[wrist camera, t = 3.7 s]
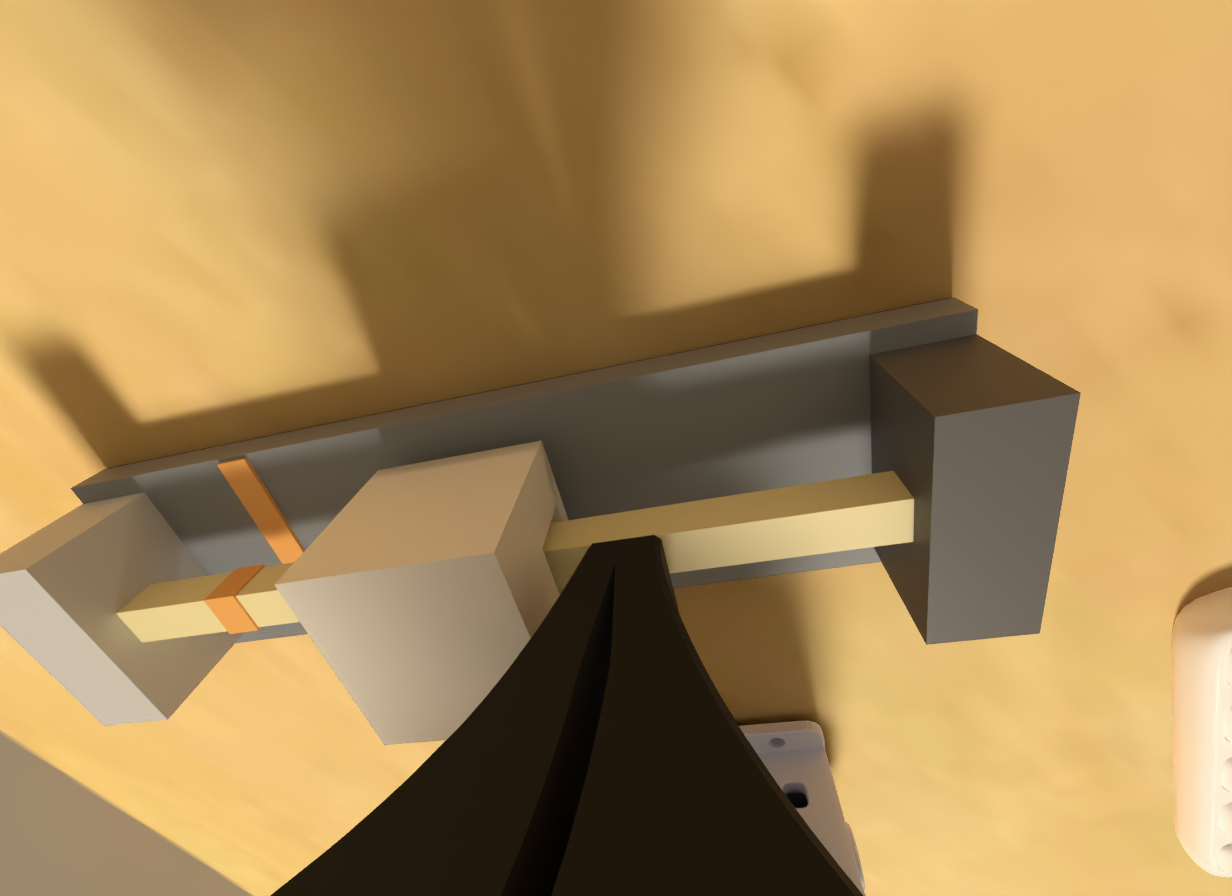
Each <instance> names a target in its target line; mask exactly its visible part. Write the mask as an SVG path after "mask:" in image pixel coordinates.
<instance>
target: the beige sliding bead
mask: <svg viewBox="0 0 1232 896" xmlns="http://www.w3.org/2000/svg"><path fill="white" fill-rule="evenodd" d="M567 520H568V517H567V514H566V511H565V508H564V505H563V502H562V499H561V496H560V494H559V491H558V488H557V485H556V482H555V479H554V476H553V473H552V470H551V467H550V464H549V461H548V458H547V455H546V452H545V449H544V446H543V443H542V440H541V441H536V442H530V443H525V444H519V445H514V446H508V447H503V448H497V449H492V450H486V451H481V452H475V453H470V454H464V455H459V456H453V457H448V458H442V459H437V460H431V461H426V462H420V463H415V464H409V465H404V466H398V467H393V468H387V469H382V470H378V471H377V472H376V473H375V474H374V475H373V476H372V477H371V479H370V480H369V481H368V482H367V483H366V484H365V485H364V486H363V487H362V488H361V490H360V491H359V492H358V493H357V494H356V495H355V496H354V497H353V498H352V499H351V501H350V502H349V503H348V504H347V505H346V506H345V507H344V508H343V509H342V511H341V512H340V513H339V514H338V515H337V516H336V517H335V518H334V519H333V520H332V522H331V523H330V524H329V525H328V526H327V527H326V528H325V529H324V530H323V531H322V533H321V534H320V535H319V536H318V537H317V538H316V539H315V540H314V541H313V542H312V544H311V545H310V546H309V547H308V548H307V549H306V550H305V551H304V552H303V554H302V555H301V556H300V557H299V558H298V559H297V560H296V561H295V562H294V563H293V565H292V566H291V567H290V568H289V569H288V570H287V571H286V572H285V573H284V574H283V576H282V577H281V578H280V579H279V580H278V581H277V582H276V583H275V584H274V585H275V586H276V588H277V589H278V591H279V592H280V594H281V595H282V597H283V598H284V600H285V601H286V603H287V604H288V605H289V607H290V608H291V610H292V611H293V613H294V614H295V616H296V617H297V619H298V620H299V621H300V623H301V624H302V626H303V627H304V629H305V630H306V632H307V633H308V635H309V636H310V637H311V639H312V640H313V642H314V643H315V645H316V646H317V648H318V649H319V651H320V652H321V653H322V655H323V656H324V658H325V659H326V661H327V662H328V664H329V665H330V667H331V668H332V669H333V671H334V672H335V674H336V675H337V677H338V678H339V680H340V681H341V683H342V684H343V685H344V687H345V688H346V690H347V691H348V693H349V694H350V696H351V697H352V699H353V700H354V701H355V703H356V704H357V706H358V707H359V709H360V710H361V712H362V713H363V715H364V716H365V717H366V719H367V720H368V722H369V723H370V725H371V726H372V728H373V729H374V731H375V732H376V734H377V735H378V736H379V738H380V739H381V741H382V742H383V744H384V745H390V744H402V743H415V742H427V741H439V740H447V739H448V738H449V737H450V736H451V735H452V734H453V733H454V732H455V731H456V730H457V729H458V728H459V727H460V726H461V724H462V723H463V722H464V721H465V720H466V719H467V718H468V717H469V716H470V714H471V713H472V712H473V711H474V710H475V709H476V708H477V706H478V705H479V704H480V703H481V702H482V701H483V699H484V698H485V697H486V696H487V695H488V694H489V692H490V691H491V690H492V689H493V687H494V686H495V685H496V684H497V683H498V681H499V680H500V679H501V677H502V676H503V675H504V674H505V672H506V671H507V670H508V669H509V667H510V666H511V665H512V663H513V662H514V660H515V659H516V658H517V656H518V655H519V654H520V652H521V651H522V650H523V648H524V647H525V646H526V644H527V643H528V641H529V640H530V639H531V637H532V636H533V635H534V633H535V632H536V630H537V629H538V627H539V626H540V624H541V623H542V621H543V620H544V618H545V617H546V615H547V614H548V612H549V611H550V609H551V608H552V606H553V605H554V603H555V602H556V600H557V599H558V597H559V596H560V594H561V592H562V591H563V589H564V588H565V587H563V588H557V586H556V583H555V581H554V578H553V575H552V573H551V570H550V567H549V565H548V562H547V559H546V557H545V554H544V551H543V546H544V543H545V539H546V536H547V533H548V529H549V526H550V523H554V522H561V521H567Z"/></svg>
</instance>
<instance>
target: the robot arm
mask: <svg viewBox="0 0 1232 896" xmlns="http://www.w3.org/2000/svg"><path fill="white" fill-rule="evenodd" d="M864 890H865V885H864V878H863V873H862V868H861V863H860V859H859V855H858V851H857V847H856V843H855V840H854V836H853V833H852V830H851V828H850V825H849V824H848V823H847V822H845V820H844V816H843V813H842V809H841V805H840V802H839V798H838V794H837V791H836V787H835V784H834V780H833V776H832V773H831V769H830V765H829V762H828V758H827V755H826V751H825V742H824V736H823V732H822V729H821V727H820V725H818V724H817V723H816V722H813V721H805V720H804V721H792V722H779V723H766V724H754V725H741V726H738V724H737V723H736V721H735V719H734V718H733V716H732V714H731V713H730V711H729V709H728V708H727V706H726V705H725V703H724V701H723V700H722V698H721V696H720V694H719V693H718V691H717V689H716V687H715V686H714V684H713V682H712V680H711V679H710V677H709V675H708V673H707V671H706V669H705V667H704V666H703V664H702V662H701V660H700V658H699V656H698V654H697V652H696V650H695V648H694V646H693V644H692V641H691V639H690V637H689V635H688V633H687V631H686V629H685V626H684V624H683V622H682V620H681V617H680V615H679V612H678V607H677V602H676V598H675V594H674V590H673V586H672V582H671V577H670V573H669V569H668V565H667V561H666V557H665V552H664V548H663V544H662V540H661V539H660V538H659V537H657V536H656V535H649V536H642V537H635V538H628V539H621V540H614V541H607V542H599V543H592V544H591V546H590V547H589V548H588V550H587V551H586V553H585V555H584V556H583V558H582V560H581V561H580V563H579V565H578V566H577V568H576V570H575V571H574V573H573V575H572V576H571V578H570V580H569V581H568V583H567V584H566V586H565V588H564V589H563V591H562V592H561V594H560V596H559V597H558V599H557V600H556V602H555V603H554V605H553V606H552V608H551V609H550V611H549V612H548V614H547V615H546V617H545V618H544V620H543V621H542V623H541V624H540V626H539V627H538V629H537V630H536V632H535V633H534V635H533V636H532V637H531V639H530V640H529V641H528V643H527V644H526V646H525V647H524V648H523V650H522V651H521V652H520V654H519V655H518V656H517V658H516V659H515V660H514V662H513V663H512V665H511V666H510V667H509V669H508V670H507V671H506V672H505V674H504V675H503V676H502V677H501V679H500V680H499V681H498V683H497V684H496V685H495V686H494V687H493V689H492V690H491V691H490V692H489V694H488V695H487V696H486V697H485V698H484V699H483V701H482V702H481V703H480V704H479V705H478V706H477V708H476V709H475V710H474V711H473V712H472V713H471V714H470V716H469V717H468V718H467V719H466V720H465V721H464V722H463V723H462V724H461V726H460V727H459V728H458V729H457V730H456V731H455V732H454V733H453V734H452V735H451V736H450V737H449V738H448V739H447V740H446V741H445V742H444V743H443V744H442V745H441V746H440V747H439V748H438V749H437V750H436V751H435V752H434V753H433V754H432V755H431V756H430V757H429V758H428V759H427V760H426V761H425V762H424V763H423V764H422V765H421V766H420V767H419V768H418V769H417V770H416V771H415V772H414V773H413V774H412V775H411V776H410V777H409V778H408V779H407V780H406V781H405V782H404V783H403V784H402V785H401V786H400V787H399V788H398V789H396V790H395V791H394V792H393V793H392V794H391V795H390V796H389V797H388V798H387V799H386V800H385V801H383V802H382V803H381V804H380V805H379V806H378V807H377V808H376V809H375V810H373V811H372V812H371V813H370V814H369V815H368V816H367V817H365V818H364V819H363V820H362V821H361V822H360V823H359V824H357V825H356V826H355V827H354V828H353V829H352V830H351V831H349V832H348V833H347V834H346V835H345V836H344V837H342V838H341V839H340V840H339V841H338V842H337V843H335V844H334V845H333V846H332V847H331V848H329V849H328V850H327V851H326V852H325V853H323V854H322V855H321V856H320V857H318V858H317V859H316V860H314V861H313V862H312V863H311V864H309V865H308V866H307V867H306V868H304V869H303V870H302V871H301V872H299V873H298V874H297V875H296V876H294V877H293V878H292V879H291V880H289V881H288V882H287V883H286V884H284V885H283V886H282V887H281V888H279V889H278V890H277V891H276V892H274V893H273V894H272V895H271V896H865V892H864Z"/></svg>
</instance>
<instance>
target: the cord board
mask: <svg viewBox="0 0 1232 896" xmlns="http://www.w3.org/2000/svg"><path fill="white" fill-rule="evenodd" d="M977 317H978V309H976V308H974V307H972V306H970V305H968V304H966V303H964V302H962V301H960V300H958V299H956V298H948V299H943V300H938V301H933V302H928V303H923V304H918V305H913V306H909V307H904V308H899V309H894V310H889V311H884V312H879V313H874V314H869V315H864V316H859V317H854V318H849V319H844V320H839V321H834V322H829V323H825V324H820V325H815V326H810V327H805V328H800V329H795V330H790V331H785V332H780V333H775V334H770V335H765V336H760V337H755V338H750V339H745V340H741V341H736V342H731V343H726V344H721V345H716V346H711V347H706V348H701V349H696V350H691V351H686V352H681V353H676V354H671V355H666V356H661V357H657V358H652V359H647V360H642V361H637V362H632V363H627V364H622V365H617V366H612V367H607V368H602V369H597V370H592V371H587V372H582V373H577V374H573V375H568V376H563V377H558V378H553V379H548V380H543V381H538V382H533V383H528V384H523V385H518V386H513V387H508V388H503V389H498V390H493V391H489V392H484V393H479V394H474V395H469V396H464V397H459V398H454V399H449V400H444V401H439V402H434V403H429V404H424V405H419V406H414V407H409V408H405V409H400V410H395V411H390V412H385V413H380V414H375V415H370V416H365V417H360V418H355V419H350V420H345V421H340V422H335V423H330V424H325V425H321V426H316V427H311V428H306V429H301V430H296V431H291V432H286V433H281V434H276V435H271V436H266V437H261V438H256V439H251V440H246V441H241V442H237V443H232V444H227V445H222V446H217V447H212V448H207V449H202V450H197V451H192V452H187V453H182V454H177V455H172V456H167V457H162V458H157V459H153V460H148V461H143V462H138V463H133V464H128V465H123V466H118V467H113V468H108V469H104V470H103V471H101V472H99V473H97V474H95V475H94V476H92V477H90V478H88V479H87V480H85V481H83V482H81V483H79V484H78V485H76V486H74V487H72V488H71V489H72V491H73V492H74V493H75V494H76V495H77V497H78V498H79V499H80V500H81V501H82V503H83V504H82V505H81V506H79V507H77V508H76V509H74V510H72V511H71V512H69V513H67V514H66V515H64V516H62V517H61V518H59V519H57V520H56V521H54V522H52V523H51V524H49V525H47V526H46V527H44V528H42V529H41V530H39V531H37V532H36V533H34V534H32V535H31V536H29V537H27V538H26V539H24V540H22V541H21V542H19V543H17V544H16V545H14V546H12V547H11V548H9V549H7V550H6V551H4V552H2V553H1V554H0V626H1V627H2V628H3V629H4V630H5V631H6V632H7V633H8V634H9V635H10V636H11V637H12V638H13V639H15V640H16V641H17V642H18V643H19V644H20V645H21V646H22V647H23V648H24V649H25V650H26V651H27V652H28V653H29V654H30V655H31V656H32V657H33V658H34V659H35V660H36V661H37V662H38V663H39V664H40V665H42V666H43V667H44V668H45V669H46V670H47V671H48V672H49V673H50V674H51V675H52V676H53V677H54V678H55V679H56V680H57V681H58V682H59V683H60V684H61V685H62V686H63V687H64V688H65V689H66V690H67V691H69V692H70V693H71V694H72V695H73V696H74V697H75V698H76V699H77V700H78V701H79V702H80V703H81V704H82V705H83V706H84V707H85V708H86V709H87V710H88V711H89V712H90V713H91V714H92V715H93V716H94V717H95V718H97V719H98V720H99V721H100V722H101V723H102V724H103V725H104V726H109V725H119V724H129V723H139V722H149V721H159V720H168V719H169V718H170V716H171V715H172V714H173V713H174V712H175V711H176V710H177V708H178V707H179V706H180V705H181V704H182V703H183V702H184V700H185V699H186V698H187V697H188V696H189V695H190V694H191V693H192V691H193V690H194V689H195V688H196V687H197V686H198V685H199V683H200V682H201V681H202V680H203V679H204V678H205V677H206V675H207V674H208V673H209V672H210V671H211V670H212V669H213V667H214V666H215V665H216V664H217V663H218V662H219V661H220V660H221V658H222V657H223V656H224V655H225V654H226V653H227V652H228V650H229V649H230V648H231V647H232V646H233V645H234V644H235V643H240V642H248V641H256V640H264V639H272V638H280V637H288V636H296V635H304V634H308V633H307V632H306V630H305V629H304V627H303V626H302V624H301V623H300V621H299V620H298V619H297V617H296V616H295V614H294V613H293V611H292V610H291V608H290V607H289V605H288V604H287V603H286V601H285V600H284V598H283V597H282V595H281V594H280V592H279V591H278V589H277V588H276V586H275V585H274V584H275V583H276V582H277V581H278V580H279V579H280V578H281V577H282V576H283V574H284V573H285V572H286V571H287V570H288V569H289V568H290V567H291V566H292V565H293V563H294V562H295V561H296V560H297V559H298V558H299V557H300V556H301V555H302V554H303V552H304V551H305V550H306V549H307V548H308V547H309V546H310V545H311V544H312V542H313V541H314V540H315V539H316V538H317V537H318V536H319V535H320V534H321V533H322V531H323V530H324V529H325V528H326V527H327V526H328V525H329V524H330V523H331V522H332V520H333V519H334V518H335V517H336V516H337V515H338V514H339V513H340V512H341V511H342V509H343V508H344V507H345V506H346V505H347V504H348V503H349V502H350V501H351V499H352V498H353V497H354V496H355V495H356V494H357V493H358V492H359V491H360V490H361V488H362V487H363V486H364V485H365V484H366V483H367V482H368V481H369V480H370V479H371V477H372V476H373V475H374V474H375V473H376V472H377V471H378V470H382V469H387V468H393V467H398V466H404V465H409V464H415V463H420V462H426V461H431V460H437V459H442V458H448V457H453V456H459V455H464V454H470V453H475V452H481V451H486V450H492V449H497V448H503V447H508V446H514V445H519V444H525V443H530V442H536V441H541V440H542V443H543V446H544V449H545V452H546V455H547V458H548V461H549V464H550V467H551V470H552V473H553V476H554V479H555V482H556V485H557V488H558V491H559V494H560V496H561V499H562V502H563V505H564V508H565V511H566V514H567V517H568V520H567V521H561V522H554V523H550V526H549V529H548V533H547V536H546V539H545V543H544V546H543V551H544V554H545V557H546V559H547V562H548V565H549V567H550V570H551V573H552V575H553V578H554V581H555V583H556V586H557V588H563V587H565V586H566V584H567V583H568V581H569V580H570V578H571V576H572V575H573V573H574V571H575V570H576V568H577V566H578V565H579V563H580V561H581V560H582V558H583V556H584V555H585V553H586V551H587V550H588V548H589V547H590V546H591V544H592V543H599V542H607V541H614V540H621V539H628V538H635V537H642V536H649V535H656V536H657V537H659V538H660V539H661V540H662V544H663V548H664V552H665V557H666V561H667V565H668V569H669V573H670V577H671V582H672V586H673V588H677V587H685V586H693V585H701V584H709V583H717V582H725V581H733V580H741V579H749V578H757V577H765V576H773V575H781V574H789V573H797V572H805V571H813V570H820V569H828V568H836V567H844V566H852V565H860V564H868V563H876V562H882V564H883V566H884V567H885V569H886V571H887V573H888V575H889V577H890V578H891V580H892V582H893V584H894V586H895V588H896V589H897V591H898V593H899V595H900V597H901V599H902V600H903V602H904V604H905V606H906V608H907V610H908V612H909V613H910V615H911V617H912V619H913V621H914V623H915V624H916V626H917V628H918V630H919V632H920V634H921V635H922V637H923V639H924V641H925V643H926V645H927V644H937V643H947V642H957V641H967V640H977V639H987V638H998V637H1008V636H1018V635H1028V634H1038V633H1040V628H1041V622H1042V616H1043V610H1044V605H1045V599H1046V593H1047V587H1048V581H1049V575H1050V569H1051V563H1052V558H1053V552H1054V546H1055V540H1056V534H1057V528H1058V522H1059V516H1060V510H1061V505H1062V499H1063V493H1064V487H1065V481H1066V475H1067V469H1068V463H1069V458H1070V452H1071V446H1072V440H1073V434H1074V428H1075V422H1076V416H1077V411H1078V405H1079V399H1080V392H1078V391H1076V390H1074V389H1073V388H1071V387H1069V386H1067V385H1066V384H1064V383H1062V382H1060V381H1059V380H1057V379H1055V378H1053V377H1051V376H1050V375H1048V374H1046V373H1044V372H1043V371H1041V370H1039V369H1037V368H1035V367H1034V366H1032V365H1030V364H1028V363H1027V362H1025V361H1023V360H1021V359H1019V358H1018V357H1016V356H1014V355H1012V354H1011V353H1009V352H1007V351H1005V350H1003V349H1002V348H1000V347H998V346H996V345H995V344H993V343H991V342H989V341H987V340H986V339H984V338H982V337H980V336H979V335H977V334H976V331H977Z"/></svg>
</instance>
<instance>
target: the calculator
mask: <svg viewBox="0 0 1232 896" xmlns="http://www.w3.org/2000/svg"><path fill="white" fill-rule="evenodd" d="M1171 666H1172V718H1173V767H1174V815H1175V829H1176V834H1177V836H1178V839H1179V841H1180V842H1181V844H1182V846H1183V848H1184V849H1185V851H1186V852H1187V853H1188V854H1189V856H1190V857H1191V858H1192V859H1193V860H1194V862H1195V863H1196V864H1197V865H1198V866H1200V867H1201V868H1202V869H1204V870H1205V871H1207V872H1208V873H1210V874H1212V875H1216V876H1221V877H1232V587H1229V588H1226V589H1222V590H1218V591H1215V592H1213V593H1210V594H1207V595H1204V596H1202V597H1199V598H1197V599H1195V600H1193V601H1192V602H1190V603H1189V604H1187V605H1186V606H1184V607H1183V608H1182V610H1181V611H1180V613H1179V614H1178V615H1177V617H1176V619H1175V623H1174V626H1173V630H1172V642H1171Z"/></svg>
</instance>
